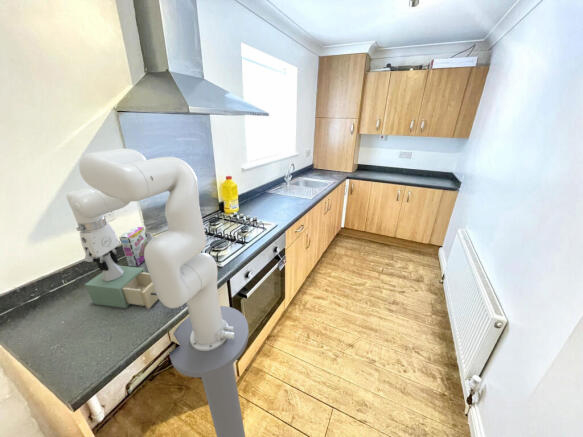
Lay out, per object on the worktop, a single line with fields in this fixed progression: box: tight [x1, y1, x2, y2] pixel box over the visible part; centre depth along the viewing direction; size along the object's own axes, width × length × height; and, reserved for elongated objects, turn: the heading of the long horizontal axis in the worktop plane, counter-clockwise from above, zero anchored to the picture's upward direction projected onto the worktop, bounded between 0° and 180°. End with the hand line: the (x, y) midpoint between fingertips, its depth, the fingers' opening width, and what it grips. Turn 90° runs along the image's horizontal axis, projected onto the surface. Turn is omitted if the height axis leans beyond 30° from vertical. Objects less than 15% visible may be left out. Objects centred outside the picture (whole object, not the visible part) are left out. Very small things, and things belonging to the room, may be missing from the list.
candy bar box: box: [118, 226, 147, 268], centre depth 115 cm, size 11×5×16 cm, turn 177°
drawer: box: [121, 272, 159, 309], centre depth 92 cm, size 20×11×8 cm, turn 81°
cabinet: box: [84, 264, 146, 309], centre depth 94 cm, size 15×13×10 cm
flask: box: [102, 252, 124, 282], centre depth 90 cm, size 7×7×10 cm
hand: (109, 266), depth 90 cm, fingers open, 3 cm apart
